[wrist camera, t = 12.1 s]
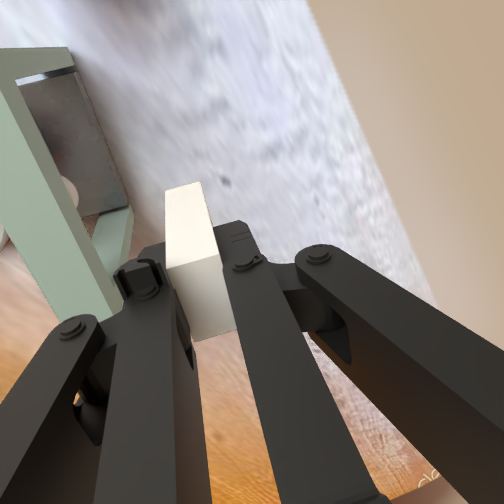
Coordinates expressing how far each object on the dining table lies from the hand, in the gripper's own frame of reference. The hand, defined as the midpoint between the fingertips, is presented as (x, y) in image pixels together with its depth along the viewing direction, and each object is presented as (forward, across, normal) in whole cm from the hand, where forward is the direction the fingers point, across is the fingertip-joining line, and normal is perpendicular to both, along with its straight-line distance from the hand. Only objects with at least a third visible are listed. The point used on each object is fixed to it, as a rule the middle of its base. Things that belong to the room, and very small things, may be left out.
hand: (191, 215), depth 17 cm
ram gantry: (+23, -8, 0) cm, 25 cm away
